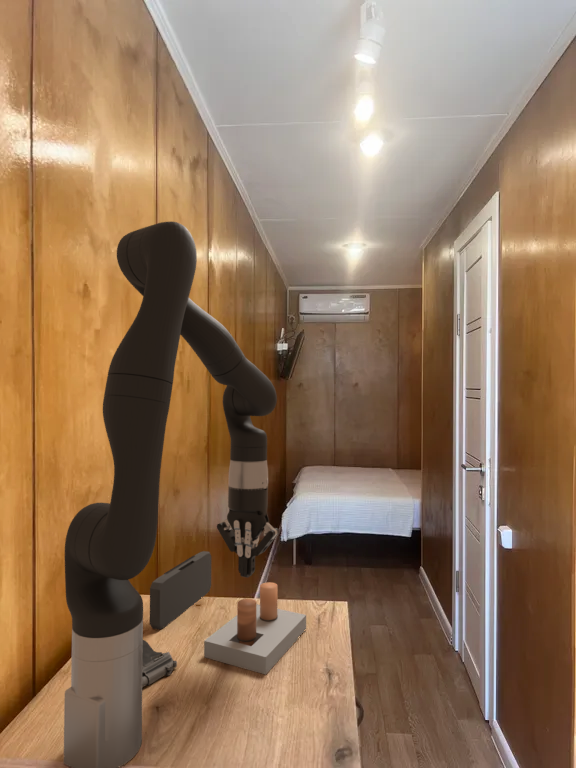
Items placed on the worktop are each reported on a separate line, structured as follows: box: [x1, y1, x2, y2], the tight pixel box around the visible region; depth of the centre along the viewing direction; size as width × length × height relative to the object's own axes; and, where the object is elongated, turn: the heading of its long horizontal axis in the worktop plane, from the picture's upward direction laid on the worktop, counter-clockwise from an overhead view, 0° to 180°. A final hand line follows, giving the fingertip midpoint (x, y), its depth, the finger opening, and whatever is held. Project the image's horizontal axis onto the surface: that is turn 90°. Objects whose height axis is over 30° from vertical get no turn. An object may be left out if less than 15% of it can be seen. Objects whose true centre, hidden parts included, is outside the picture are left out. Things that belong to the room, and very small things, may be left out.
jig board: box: [203, 581, 307, 676], centre depth 95 cm, size 18×13×10 cm
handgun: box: [142, 639, 178, 688], centre depth 82 cm, size 2×17×12 cm
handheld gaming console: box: [149, 551, 212, 630], centre depth 110 cm, size 23×3×10 cm, turn 161°
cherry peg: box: [236, 598, 257, 646], centre depth 91 cm, size 4×4×10 cm
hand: (246, 575), depth 91 cm, fingers closed
